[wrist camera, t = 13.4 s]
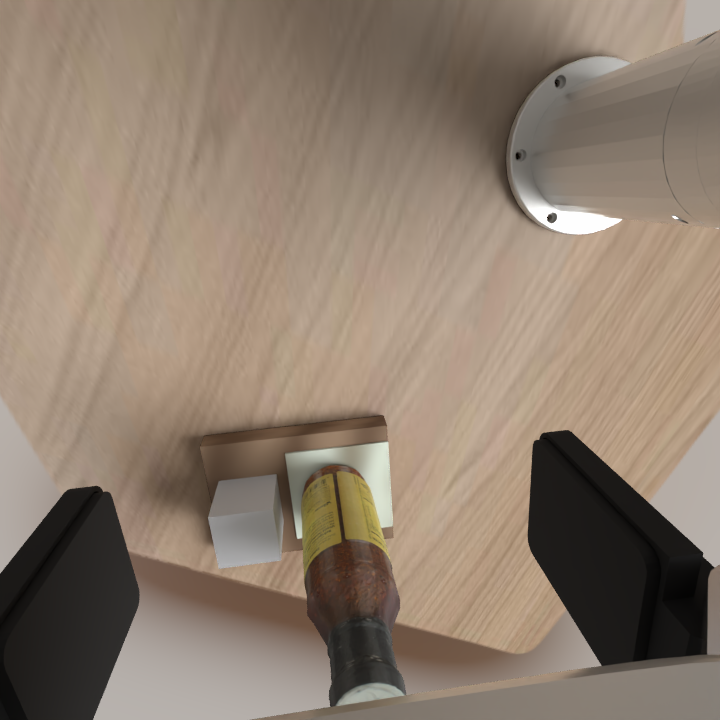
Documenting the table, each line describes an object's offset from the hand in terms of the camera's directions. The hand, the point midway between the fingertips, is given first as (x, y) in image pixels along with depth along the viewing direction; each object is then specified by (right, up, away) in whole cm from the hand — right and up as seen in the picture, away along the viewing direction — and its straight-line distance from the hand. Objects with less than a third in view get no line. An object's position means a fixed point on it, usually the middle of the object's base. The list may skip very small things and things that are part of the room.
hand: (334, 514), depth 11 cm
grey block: (-9, -9, +32) cm, 35 cm away
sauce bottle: (-1, -8, +33) cm, 34 cm away
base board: (-5, -8, +35) cm, 36 cm away
